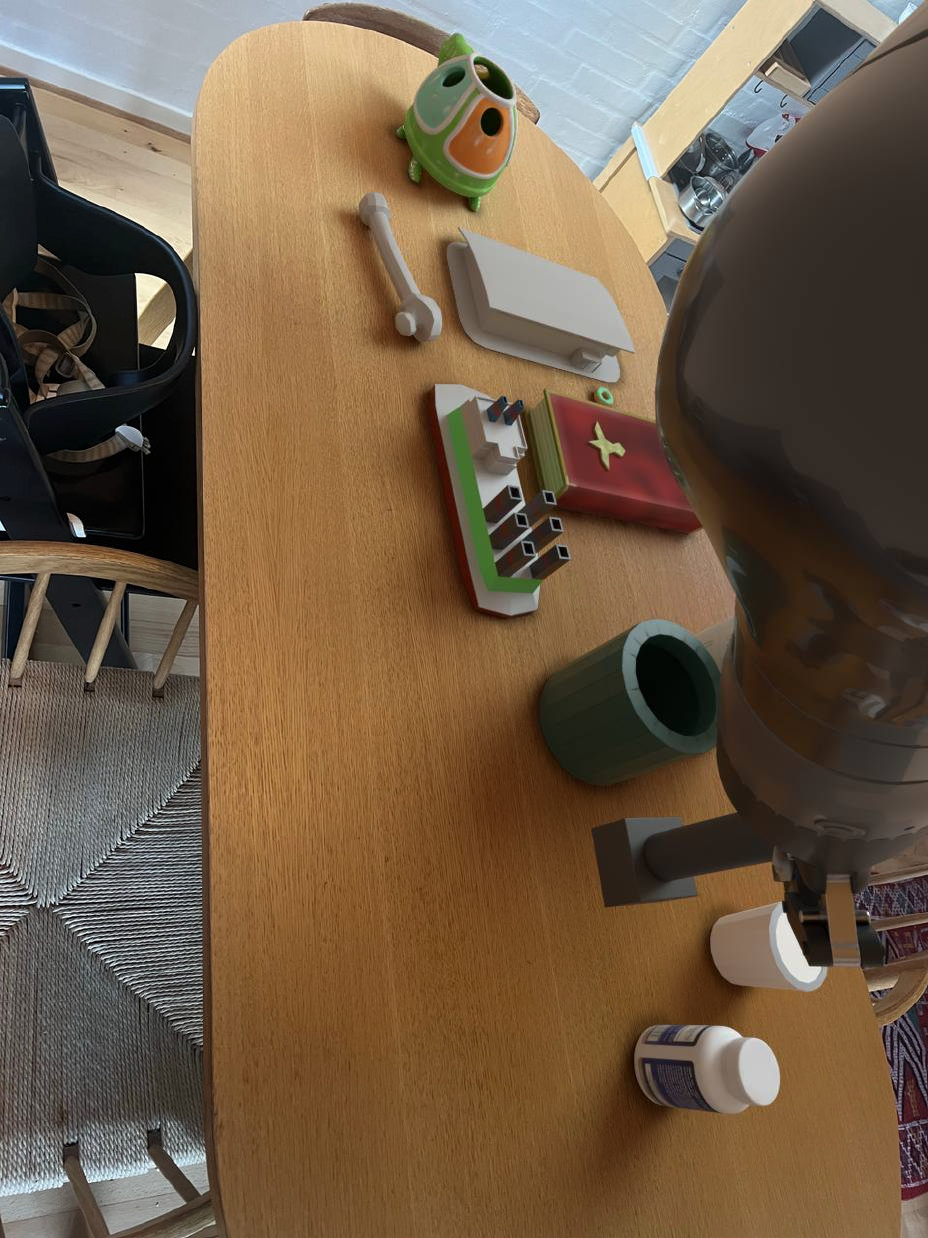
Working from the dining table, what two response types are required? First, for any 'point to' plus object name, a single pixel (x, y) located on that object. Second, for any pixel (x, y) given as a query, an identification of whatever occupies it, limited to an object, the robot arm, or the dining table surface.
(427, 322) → the grey knobbed bar
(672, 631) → the jar
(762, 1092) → the pill bottle
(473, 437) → the toy boat
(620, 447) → the hardcover book
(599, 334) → the grey tray
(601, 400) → the green looped rod
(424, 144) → the turtle holder
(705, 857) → the grey peg on base
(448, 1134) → the dining table surface
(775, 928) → the white tapered cup
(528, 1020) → the dining table surface
